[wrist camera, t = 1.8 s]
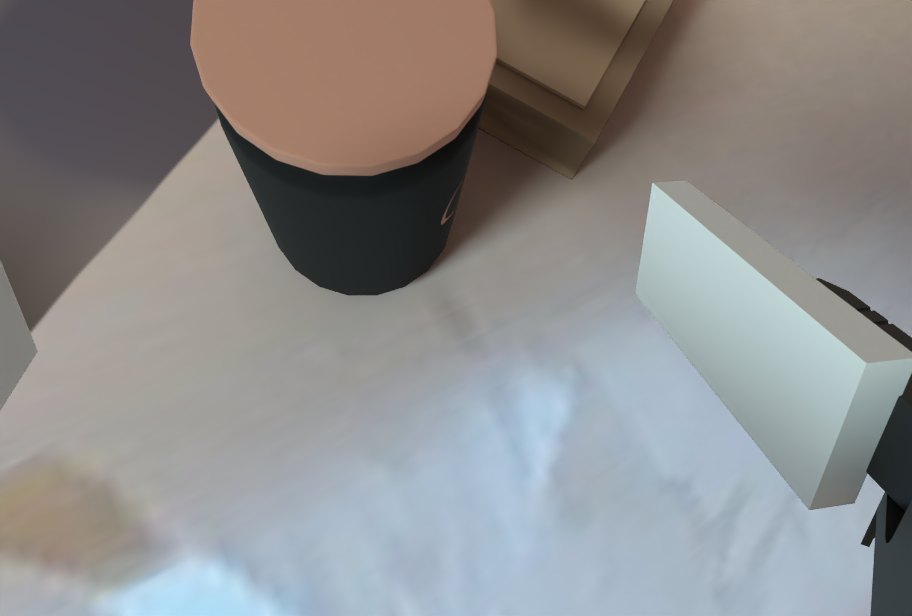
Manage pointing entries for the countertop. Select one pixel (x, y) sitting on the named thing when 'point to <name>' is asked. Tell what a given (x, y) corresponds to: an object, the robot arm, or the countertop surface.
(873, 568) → the robot arm
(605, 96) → the wooden tray
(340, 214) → the coffee jar
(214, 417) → the countertop surface
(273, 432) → the countertop surface
